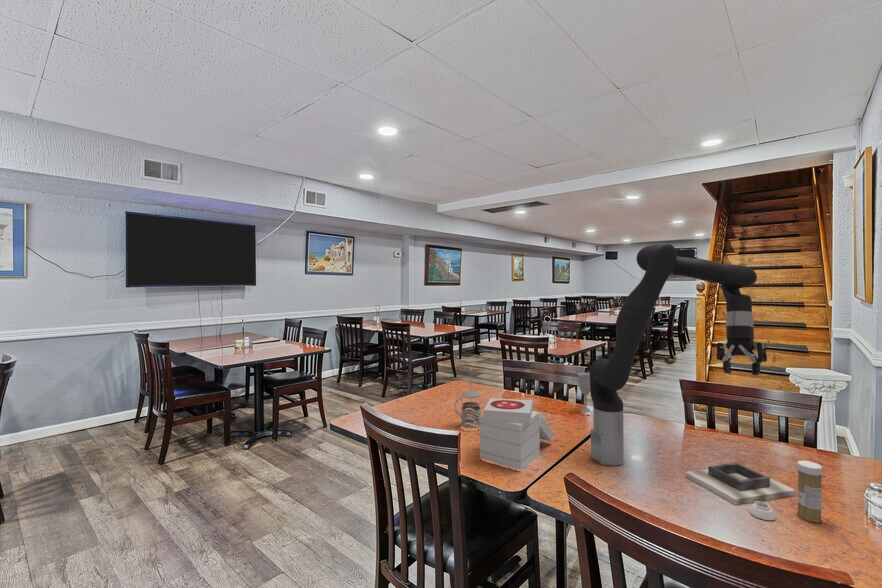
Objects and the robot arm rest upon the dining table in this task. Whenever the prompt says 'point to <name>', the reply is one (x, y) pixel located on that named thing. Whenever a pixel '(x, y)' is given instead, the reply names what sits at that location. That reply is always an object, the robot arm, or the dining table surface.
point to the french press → (470, 405)
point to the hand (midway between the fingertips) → (741, 374)
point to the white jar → (762, 511)
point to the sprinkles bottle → (809, 491)
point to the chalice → (584, 388)
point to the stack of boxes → (511, 432)
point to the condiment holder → (739, 484)
